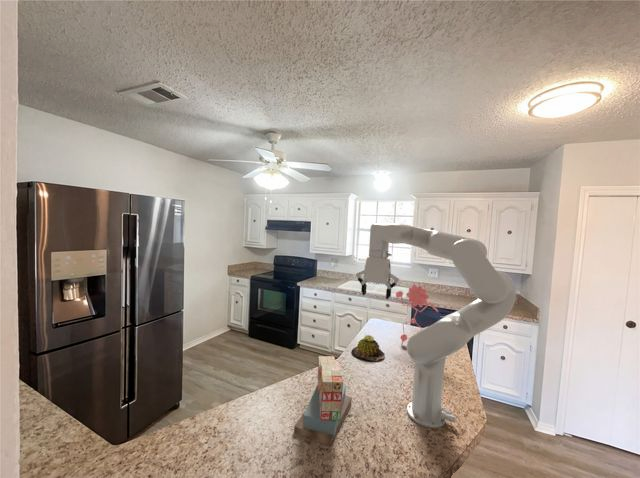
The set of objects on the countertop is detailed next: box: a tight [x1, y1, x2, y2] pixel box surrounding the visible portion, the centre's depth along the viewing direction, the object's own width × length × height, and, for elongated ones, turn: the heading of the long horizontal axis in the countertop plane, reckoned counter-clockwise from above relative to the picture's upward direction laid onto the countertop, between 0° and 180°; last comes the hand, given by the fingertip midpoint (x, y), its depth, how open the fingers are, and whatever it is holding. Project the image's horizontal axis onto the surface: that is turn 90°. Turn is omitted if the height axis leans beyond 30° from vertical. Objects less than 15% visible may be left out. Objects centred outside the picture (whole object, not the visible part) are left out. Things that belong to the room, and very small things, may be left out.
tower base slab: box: [293, 394, 352, 447], centre depth 90 cm, size 12×22×4 cm, turn 157°
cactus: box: [351, 334, 385, 362], centre depth 139 cm, size 17×16×10 cm
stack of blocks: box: [317, 355, 344, 421], centre depth 90 cm, size 21×6×12 cm, turn 3°
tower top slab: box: [303, 383, 347, 437], centre depth 90 cm, size 10×20×4 cm, turn 165°
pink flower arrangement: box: [395, 284, 439, 346], centre depth 152 cm, size 15×26×35 cm, turn 45°
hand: (375, 296), depth 107 cm, fingers open, 9 cm apart
